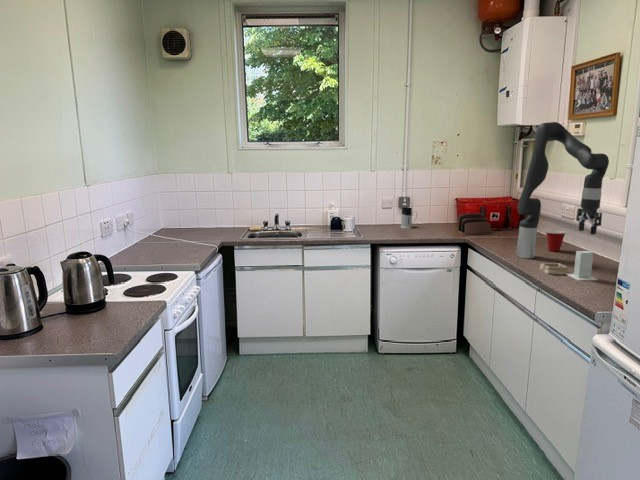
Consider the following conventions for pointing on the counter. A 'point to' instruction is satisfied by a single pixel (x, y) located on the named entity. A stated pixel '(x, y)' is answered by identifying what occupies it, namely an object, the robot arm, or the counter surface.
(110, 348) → the counter surface
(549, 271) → the collar
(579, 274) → the skincare box
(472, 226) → the letter holder
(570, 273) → the pad
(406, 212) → the tall grey mug
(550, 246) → the plastic cup
